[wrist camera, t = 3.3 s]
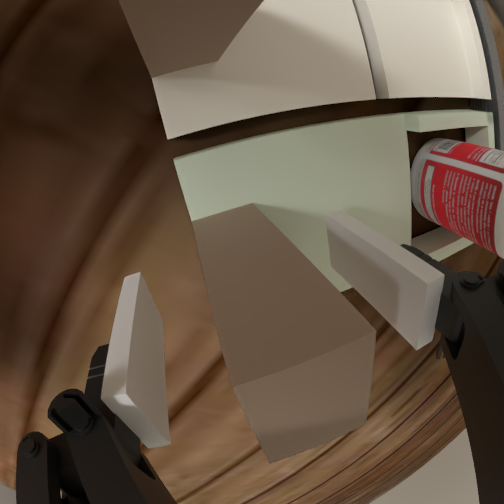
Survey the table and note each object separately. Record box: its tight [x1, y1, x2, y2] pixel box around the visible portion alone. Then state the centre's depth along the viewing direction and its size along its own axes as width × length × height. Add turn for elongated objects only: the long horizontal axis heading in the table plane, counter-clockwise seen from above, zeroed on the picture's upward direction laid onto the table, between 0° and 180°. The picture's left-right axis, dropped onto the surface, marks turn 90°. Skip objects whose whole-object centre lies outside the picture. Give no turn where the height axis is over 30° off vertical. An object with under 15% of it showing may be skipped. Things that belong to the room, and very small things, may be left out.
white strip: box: [353, 0, 491, 99], centre depth 12 cm, size 10×10×2 cm
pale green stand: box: [174, 109, 495, 463], centre depth 12 cm, size 22×10×11 cm, turn 103°
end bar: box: [469, 0, 504, 151], centre depth 15 cm, size 2×23×3 cm, turn 13°
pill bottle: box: [410, 138, 504, 259], centre depth 14 cm, size 6×6×11 cm
